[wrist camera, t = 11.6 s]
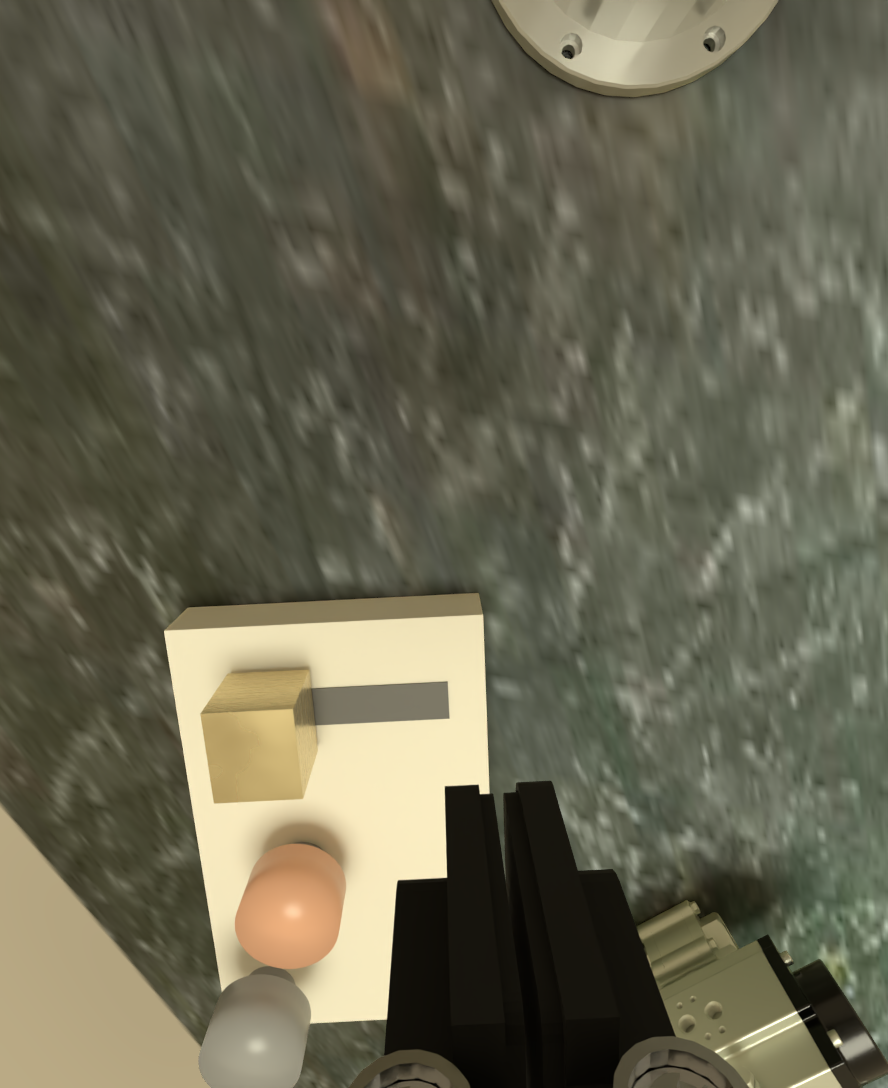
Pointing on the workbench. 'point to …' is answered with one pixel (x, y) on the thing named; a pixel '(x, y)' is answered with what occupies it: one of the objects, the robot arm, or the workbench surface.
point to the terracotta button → (291, 906)
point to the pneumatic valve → (757, 1005)
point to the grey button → (257, 1033)
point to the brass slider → (260, 736)
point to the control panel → (341, 764)
